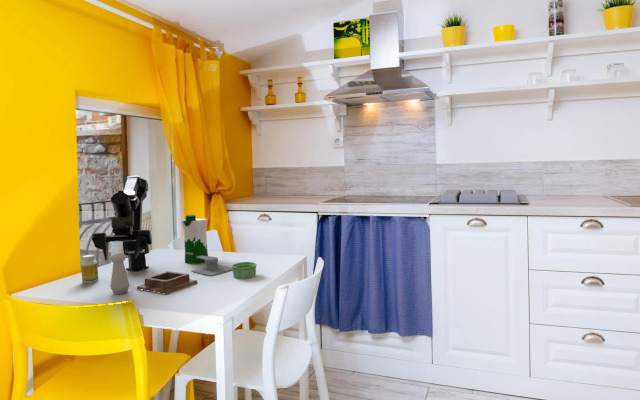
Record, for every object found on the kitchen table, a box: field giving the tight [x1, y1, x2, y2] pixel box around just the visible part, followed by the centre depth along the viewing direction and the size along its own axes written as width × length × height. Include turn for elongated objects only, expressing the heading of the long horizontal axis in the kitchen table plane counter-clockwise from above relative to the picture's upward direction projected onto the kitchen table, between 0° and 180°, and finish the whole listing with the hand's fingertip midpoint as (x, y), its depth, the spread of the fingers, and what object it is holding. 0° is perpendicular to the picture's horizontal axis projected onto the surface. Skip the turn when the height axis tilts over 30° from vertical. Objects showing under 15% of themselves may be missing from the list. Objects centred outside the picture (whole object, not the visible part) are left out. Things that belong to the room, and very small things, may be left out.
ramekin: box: [231, 261, 257, 280], centre depth 169 cm, size 9×9×4 cm
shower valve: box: [190, 255, 233, 277], centre depth 179 cm, size 12×6×15 cm
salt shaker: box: [110, 253, 131, 295], centre depth 152 cm, size 6×6×13 cm
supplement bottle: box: [80, 254, 99, 284], centre depth 168 cm, size 5×5×10 cm
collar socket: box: [136, 270, 198, 295], centre depth 159 cm, size 14×14×4 cm
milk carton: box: [180, 214, 209, 265], centre depth 194 cm, size 9×9×20 cm
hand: (120, 259), depth 155 cm, fingers open, 9 cm apart
